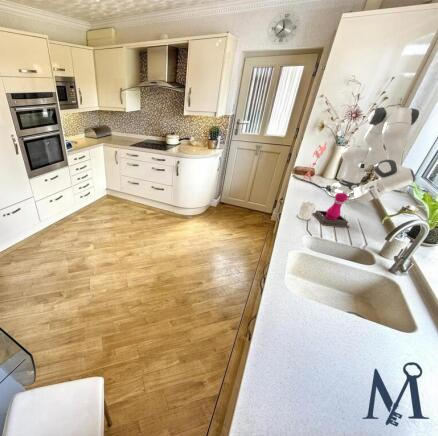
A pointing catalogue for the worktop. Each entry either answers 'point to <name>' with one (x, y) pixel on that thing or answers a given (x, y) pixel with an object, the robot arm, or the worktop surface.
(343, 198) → the pepper mill
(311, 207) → the white cup
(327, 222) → the dock pad
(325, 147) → the figurine
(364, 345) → the worktop surface
